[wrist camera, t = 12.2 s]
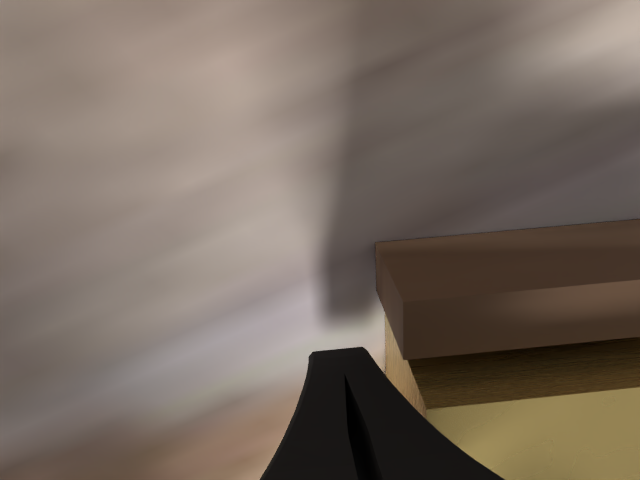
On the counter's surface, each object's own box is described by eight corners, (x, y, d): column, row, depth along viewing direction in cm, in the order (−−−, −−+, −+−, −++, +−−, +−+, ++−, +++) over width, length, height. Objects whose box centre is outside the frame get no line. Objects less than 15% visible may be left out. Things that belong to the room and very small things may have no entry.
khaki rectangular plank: (601, 360, 14) (713, 473, 11) (386, 382, 14) (425, 506, 10) (614, 282, 14) (741, 376, 10) (384, 303, 13) (426, 409, 10)
